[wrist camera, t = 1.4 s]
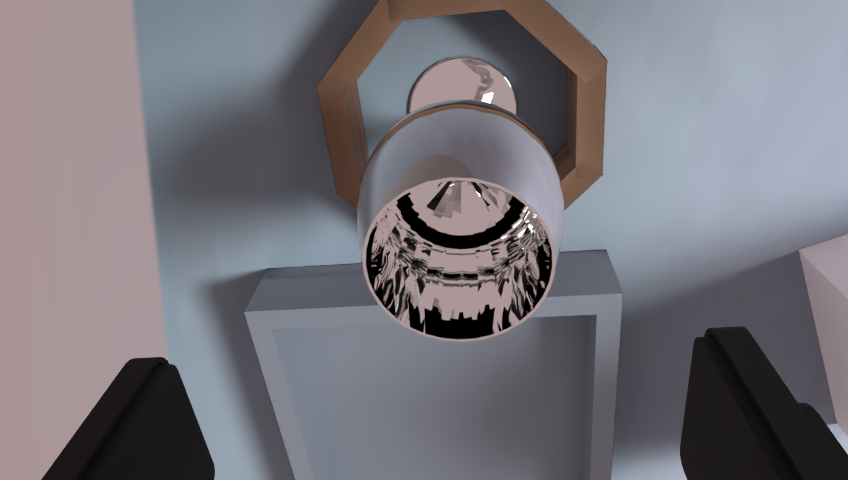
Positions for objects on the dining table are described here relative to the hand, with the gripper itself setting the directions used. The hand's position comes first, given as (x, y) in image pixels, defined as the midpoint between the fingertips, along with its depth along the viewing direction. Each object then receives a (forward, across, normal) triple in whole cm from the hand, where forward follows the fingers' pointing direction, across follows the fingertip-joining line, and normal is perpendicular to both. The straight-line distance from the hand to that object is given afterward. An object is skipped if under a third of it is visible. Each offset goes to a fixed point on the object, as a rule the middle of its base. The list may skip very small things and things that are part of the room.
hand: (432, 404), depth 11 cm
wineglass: (+16, -1, 0) cm, 16 cm away
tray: (+16, +1, +16) cm, 23 cm away
